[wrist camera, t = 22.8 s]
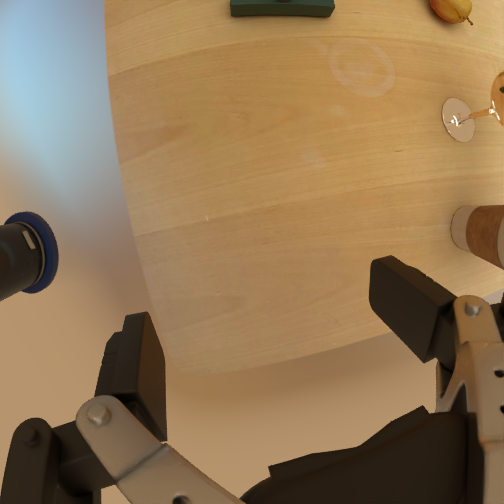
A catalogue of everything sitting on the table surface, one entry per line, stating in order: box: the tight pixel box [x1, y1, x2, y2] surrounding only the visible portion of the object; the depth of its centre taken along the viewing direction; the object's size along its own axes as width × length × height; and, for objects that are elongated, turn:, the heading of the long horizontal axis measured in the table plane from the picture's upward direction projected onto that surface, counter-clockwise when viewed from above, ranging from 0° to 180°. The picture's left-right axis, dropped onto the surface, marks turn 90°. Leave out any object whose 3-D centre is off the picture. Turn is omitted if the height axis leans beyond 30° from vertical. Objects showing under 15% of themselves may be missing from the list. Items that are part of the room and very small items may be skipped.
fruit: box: [430, 0, 473, 25], centre depth 25 cm, size 7×7×10 cm
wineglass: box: [442, 70, 504, 142], centre depth 23 cm, size 8×8×18 cm
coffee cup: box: [451, 205, 504, 270], centre depth 27 cm, size 8×8×15 cm
